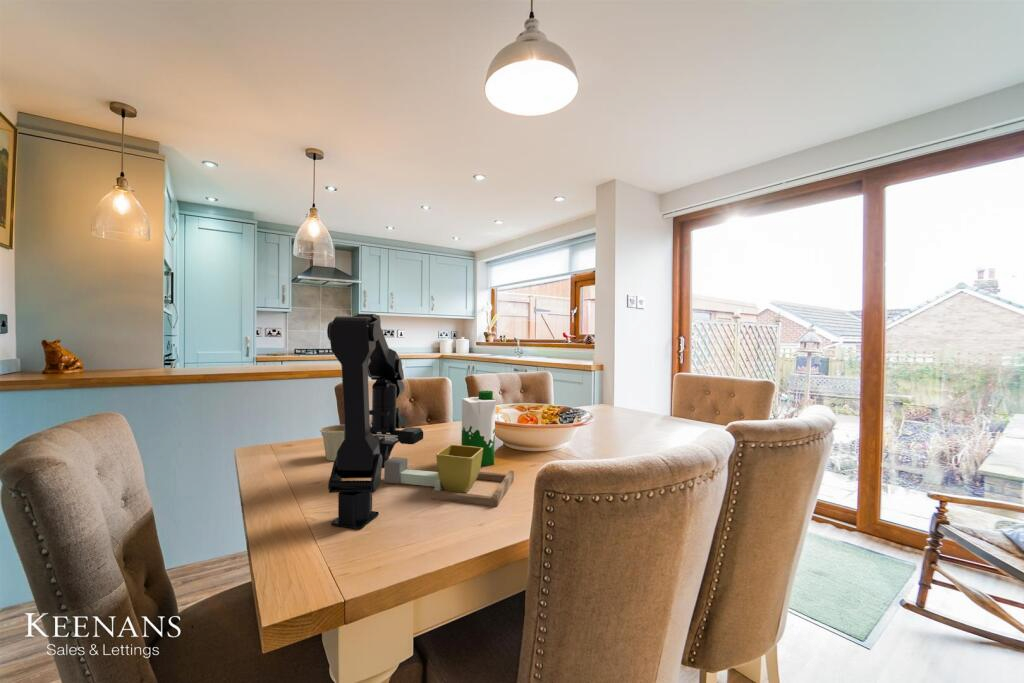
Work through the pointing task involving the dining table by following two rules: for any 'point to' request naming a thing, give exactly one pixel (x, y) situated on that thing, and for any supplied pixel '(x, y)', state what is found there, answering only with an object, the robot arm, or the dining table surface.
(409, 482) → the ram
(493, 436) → the milk carton
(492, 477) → the bay
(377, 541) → the dining table surface
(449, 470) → the flower pot
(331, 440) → the flower pot
